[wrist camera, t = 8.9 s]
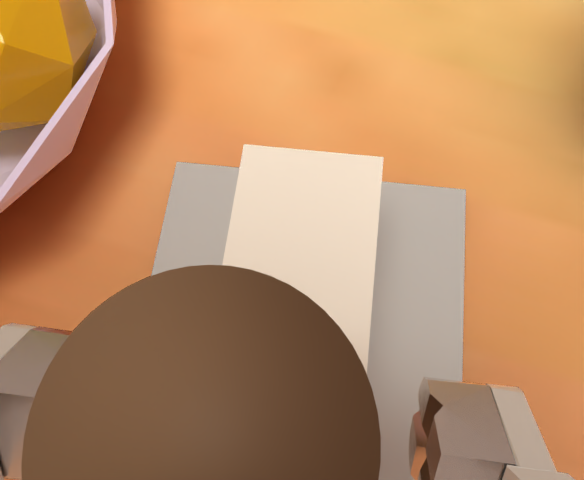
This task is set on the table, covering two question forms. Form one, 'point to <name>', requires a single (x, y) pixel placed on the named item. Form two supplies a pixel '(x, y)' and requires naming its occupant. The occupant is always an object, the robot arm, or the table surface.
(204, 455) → the post
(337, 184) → the ridge
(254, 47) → the table surface
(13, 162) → the fruit bowl
